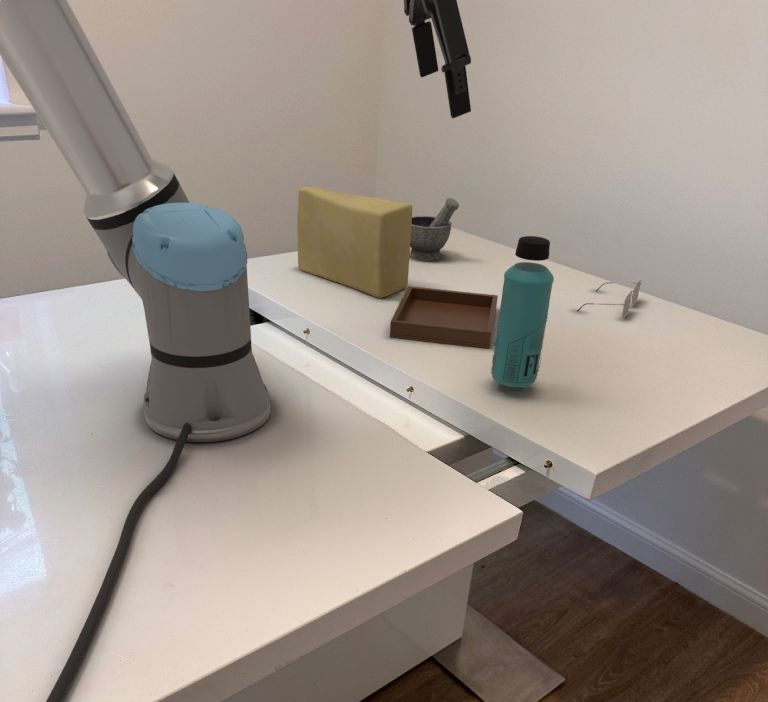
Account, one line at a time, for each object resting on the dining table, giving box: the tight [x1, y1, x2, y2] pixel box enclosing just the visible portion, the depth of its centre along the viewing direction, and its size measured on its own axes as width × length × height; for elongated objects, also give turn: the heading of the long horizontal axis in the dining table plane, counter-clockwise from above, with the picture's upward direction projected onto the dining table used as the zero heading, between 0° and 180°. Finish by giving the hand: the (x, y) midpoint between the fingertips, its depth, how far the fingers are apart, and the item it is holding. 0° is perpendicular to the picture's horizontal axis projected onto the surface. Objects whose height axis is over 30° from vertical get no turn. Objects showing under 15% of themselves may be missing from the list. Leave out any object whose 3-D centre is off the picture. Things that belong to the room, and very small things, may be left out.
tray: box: [389, 285, 499, 349], centre depth 118 cm, size 18×16×3 cm
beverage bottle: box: [490, 235, 555, 388], centre depth 94 cm, size 6×7×20 cm
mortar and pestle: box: [409, 197, 460, 262], centre depth 145 cm, size 11×9×12 cm
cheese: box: [296, 186, 413, 299], centre depth 129 cm, size 22×10×15 cm, turn 56°
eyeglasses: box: [576, 279, 642, 319], centre depth 128 cm, size 14×8×4 cm, turn 152°
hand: (444, 93), depth 102 cm, fingers open, 13 cm apart
